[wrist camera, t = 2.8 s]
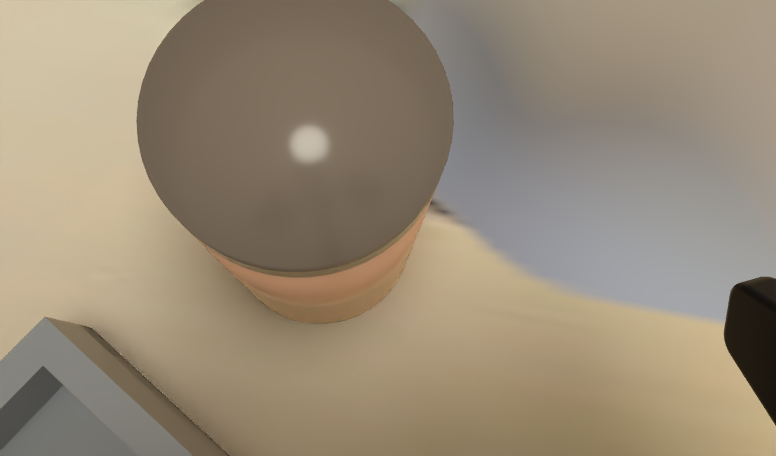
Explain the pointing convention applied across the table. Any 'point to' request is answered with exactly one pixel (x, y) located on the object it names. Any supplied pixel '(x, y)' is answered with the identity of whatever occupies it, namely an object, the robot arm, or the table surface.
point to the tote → (86, 401)
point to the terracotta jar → (299, 144)
